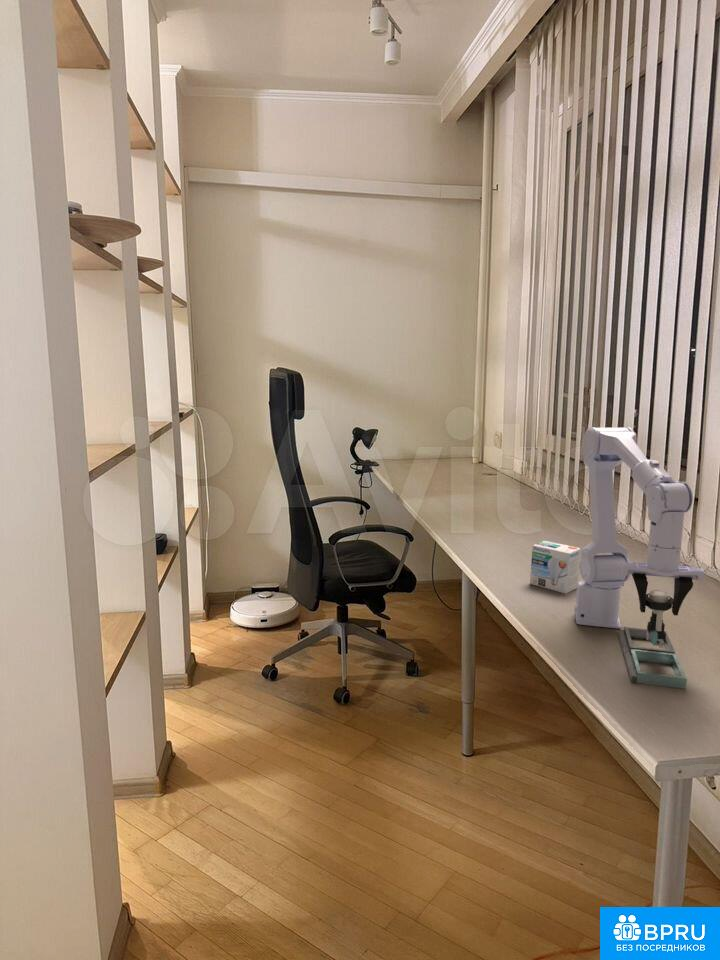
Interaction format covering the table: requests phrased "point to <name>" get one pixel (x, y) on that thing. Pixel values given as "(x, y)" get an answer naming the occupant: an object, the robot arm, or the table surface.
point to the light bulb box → (555, 566)
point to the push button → (657, 615)
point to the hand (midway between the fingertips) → (658, 612)
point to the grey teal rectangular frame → (650, 660)
